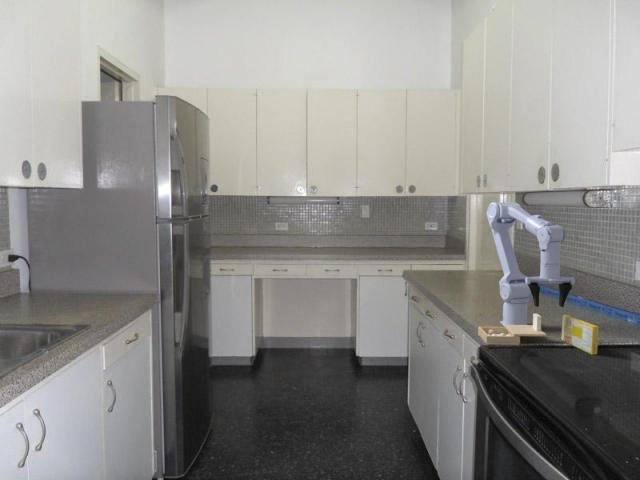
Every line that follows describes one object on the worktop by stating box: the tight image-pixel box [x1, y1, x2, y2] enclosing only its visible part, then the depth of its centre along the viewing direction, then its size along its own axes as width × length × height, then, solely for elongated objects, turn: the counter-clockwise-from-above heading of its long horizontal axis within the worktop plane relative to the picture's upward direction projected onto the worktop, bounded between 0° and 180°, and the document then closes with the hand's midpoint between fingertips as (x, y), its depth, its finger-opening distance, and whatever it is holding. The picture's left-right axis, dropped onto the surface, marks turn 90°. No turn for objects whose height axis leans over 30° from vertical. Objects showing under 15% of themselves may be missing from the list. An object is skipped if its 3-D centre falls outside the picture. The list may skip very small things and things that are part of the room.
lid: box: [503, 313, 547, 337], centre depth 173 cm, size 12×10×5 cm
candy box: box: [561, 314, 600, 356], centre depth 165 cm, size 16×2×8 cm, turn 6°
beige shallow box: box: [477, 326, 521, 346], centre depth 173 cm, size 12×10×3 cm
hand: (548, 306), depth 174 cm, fingers open, 7 cm apart
